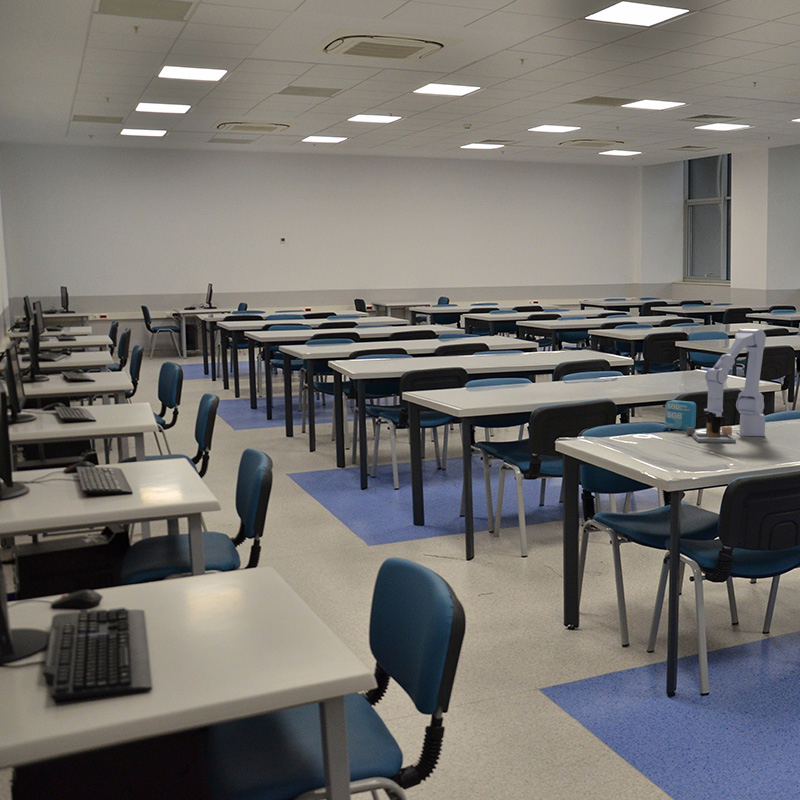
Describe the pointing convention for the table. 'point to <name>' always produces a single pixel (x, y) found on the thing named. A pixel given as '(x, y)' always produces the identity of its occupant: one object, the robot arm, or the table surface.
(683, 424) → the data package
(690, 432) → the rubber ball
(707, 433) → the walnut block
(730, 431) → the peach rounded tapered piece
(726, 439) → the tray
